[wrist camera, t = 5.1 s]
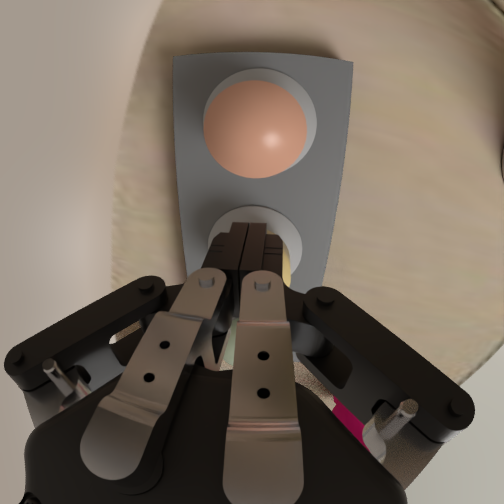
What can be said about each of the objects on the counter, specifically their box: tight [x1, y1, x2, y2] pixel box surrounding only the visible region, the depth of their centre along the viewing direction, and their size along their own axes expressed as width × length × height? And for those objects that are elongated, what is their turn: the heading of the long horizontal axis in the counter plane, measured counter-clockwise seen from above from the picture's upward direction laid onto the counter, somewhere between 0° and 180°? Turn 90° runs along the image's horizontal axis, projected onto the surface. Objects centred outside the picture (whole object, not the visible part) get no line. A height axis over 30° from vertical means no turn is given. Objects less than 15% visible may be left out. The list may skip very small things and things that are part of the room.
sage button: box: [223, 318, 239, 366], centre depth 27 cm, size 6×6×2 cm
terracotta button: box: [203, 80, 307, 178], centre depth 15 cm, size 6×6×2 cm
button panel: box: [173, 52, 353, 362], centre depth 24 cm, size 12×30×3 cm, turn 178°
